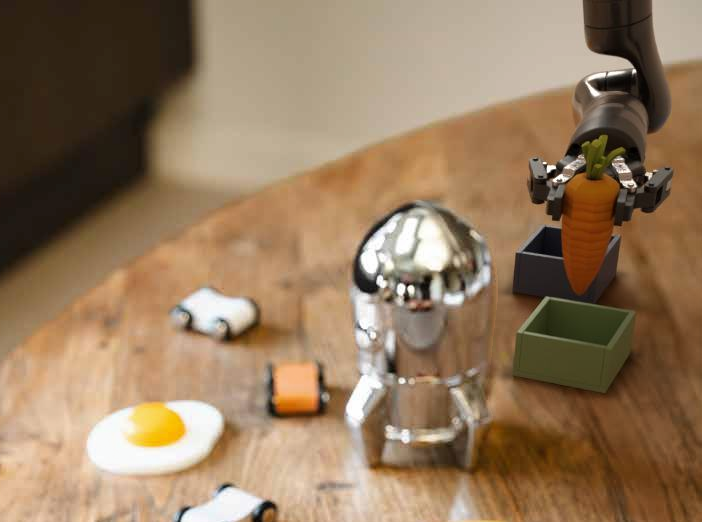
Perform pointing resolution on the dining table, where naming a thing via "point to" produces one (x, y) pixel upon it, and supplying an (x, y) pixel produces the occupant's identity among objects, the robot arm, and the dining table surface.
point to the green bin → (574, 344)
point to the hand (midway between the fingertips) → (587, 212)
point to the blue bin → (557, 267)
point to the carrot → (589, 216)
